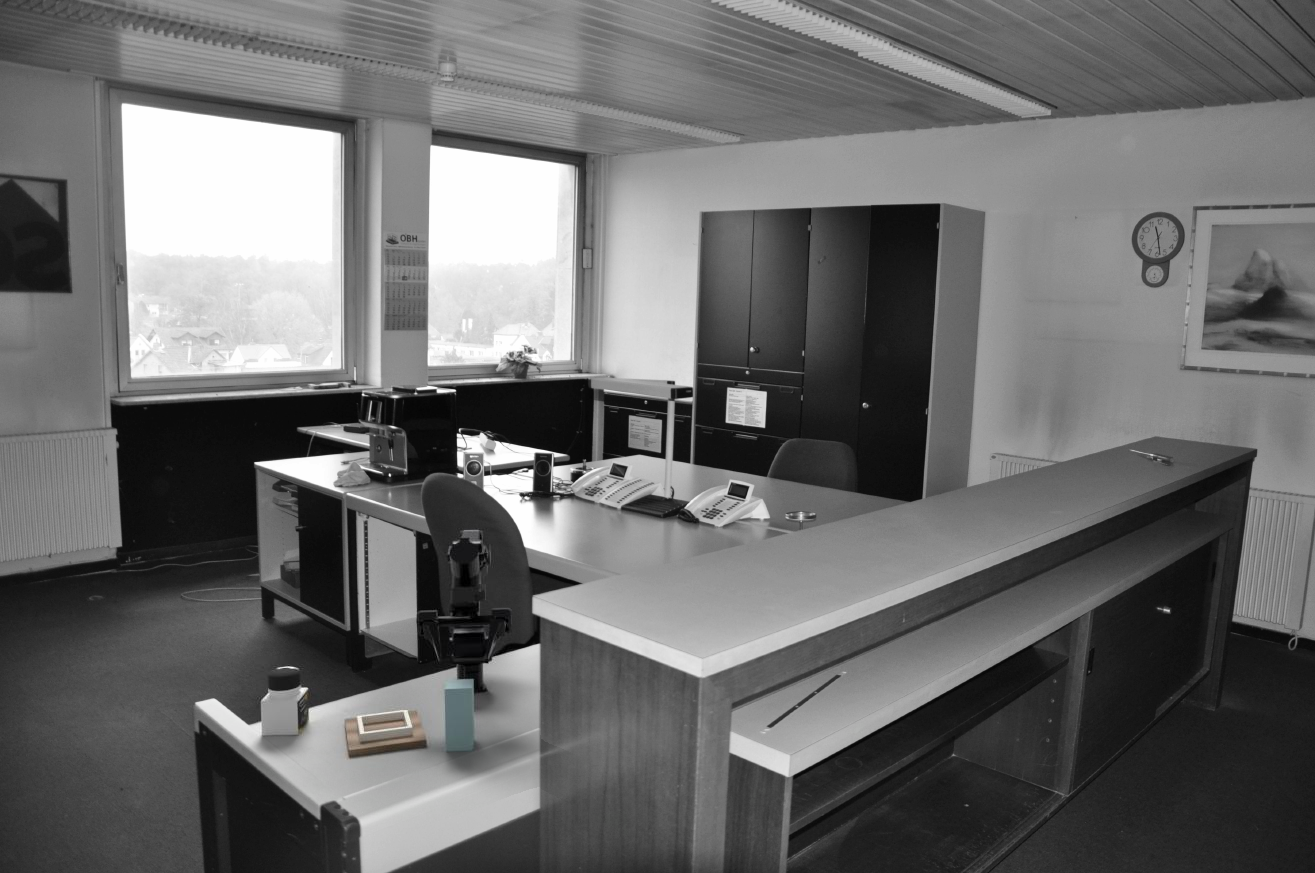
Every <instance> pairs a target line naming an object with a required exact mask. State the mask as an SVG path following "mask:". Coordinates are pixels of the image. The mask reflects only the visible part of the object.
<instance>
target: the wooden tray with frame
mask: <svg viewBox="0 0 1315 873" xmlns="http://www.w3.org/2000/svg"><path fill="white" fill-rule="evenodd" d="M344 729H345V735H346V736H345V737H346V742H347V744H346V745H347V751H348V757H354V756H356V757H357V756H362V755H363V756H364V755H369V754H370V755H371V754H375V753H376V754H377V753H385V752H391V751H397V750H406V749H412V748H419V747H420V748H421V747H425V746H426V747H427V746H428V745H427V744H428V743H427V737H426V734H425V731H424V728H423V726H422V722H421V720H420V717H419V713H418V711H417V709H414V710H408V709H404V710H403V709H402V710H394V711H387V712H379V713H370V714H363V715H357V716H355V717H349V718H344Z"/></svg>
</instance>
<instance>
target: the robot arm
mask: <svg viewBox="0 0 1315 873" xmlns="http://www.w3.org/2000/svg"><path fill="white" fill-rule="evenodd" d="M491 554H492V553H491V542H489V540H488V539H486V538H485V537H484V536H483V530H480V529H463V530H460V538H459V539H458V540H452V543H451V545H449V547H448V549H447V556H446V557H447V563H450V568H451V569H450V570H451V574H452V581H451V582H452V583H451V584H452V586H451V588H450V591H451V593H450V599H449V613H450V616H449V615H448V616H438V610H437V609H435V610H433V609H432V610H429V609H428V610H419V611H418V612H417V614H416V628H417V635H418V636H420V637H424V639H425V640H429V641H430V642H431V645H433V648H434V650H435V654H436V656H437V660H438V662H441V661H442V649H441V648H442V647H441V640H440V639H441V638H440V637H441V636H440V631H439V630H440V629H439V628H441V627H442V628H443V627H444V628H445V627H453V628H452V637H449V640H448V641H449V643H448V644H449V645H448V646H449V649H448V650H449V666H453V665H455V666H456V680H458V679H474V693H480V692H481V693H482V692H486V691H488V688H487V685H486V683H485V682H484V664H487V665H489V663H490V662H492V661H493V649H494V648H495V646H496V644H497V643H498V641H499V639H500V638H502V637H505V636H506V634H510V633H511V632H512V630H513V628H512V627H513V626H512V625H513V624H512V623H513V622H512V621H513V620H512V617H513V616H512V609H511V608H510V607H493V608H492V607H491V614H488V615H487V614H486V615H480V612H481V602H485V601H487V596H486V595H487V594H486V592H487V590H486V589H487V588H486V583H482V581H483V580H484V579H485V577H487V576H488V572H489V566H491V563H492V555H491ZM486 626H489V628H488V629H489V630H488V635H486Z"/></svg>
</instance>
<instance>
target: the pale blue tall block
mask: <svg viewBox="0 0 1315 873" xmlns="http://www.w3.org/2000/svg"><path fill="white" fill-rule="evenodd" d="M474 693H475V692H474V679H458V680H457V679H446V682H445V687H444V728H445V729H444V730H445V733H444V734H445V735H444V736H445V738H444V739H445V741H444V742H445V743H444V744H445V752H463V751H466V752H467V751H473V750H474V745H475V696H474V695H475V694H474Z"/></svg>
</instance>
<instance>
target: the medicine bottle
mask: <svg viewBox="0 0 1315 873" xmlns="http://www.w3.org/2000/svg"><path fill="white" fill-rule="evenodd" d="M301 674H302V673H301V670H300V669H299V668H298V667H295V666H282V667H281V666H280V667H276V668H274V669H272V670H270V671H269V672H268V674H267V691H268V693H267V694H266V695H265V696H264V697H263V698H262V699H261V701H260V714H261V715H260V716H261V717H260V718H261V719H260V720H261V735H262V736H263V737H265V736H267V737H268V736H271V737H272V736H273V737H274V736H298V735H300V734H301V732H302V731H303V730H304V728H305V727H306V726H307V724H308V723H309V721H310V712H309V711H310V710H309V688H308V687H302V680H301V679H302V675H301Z"/></svg>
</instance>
